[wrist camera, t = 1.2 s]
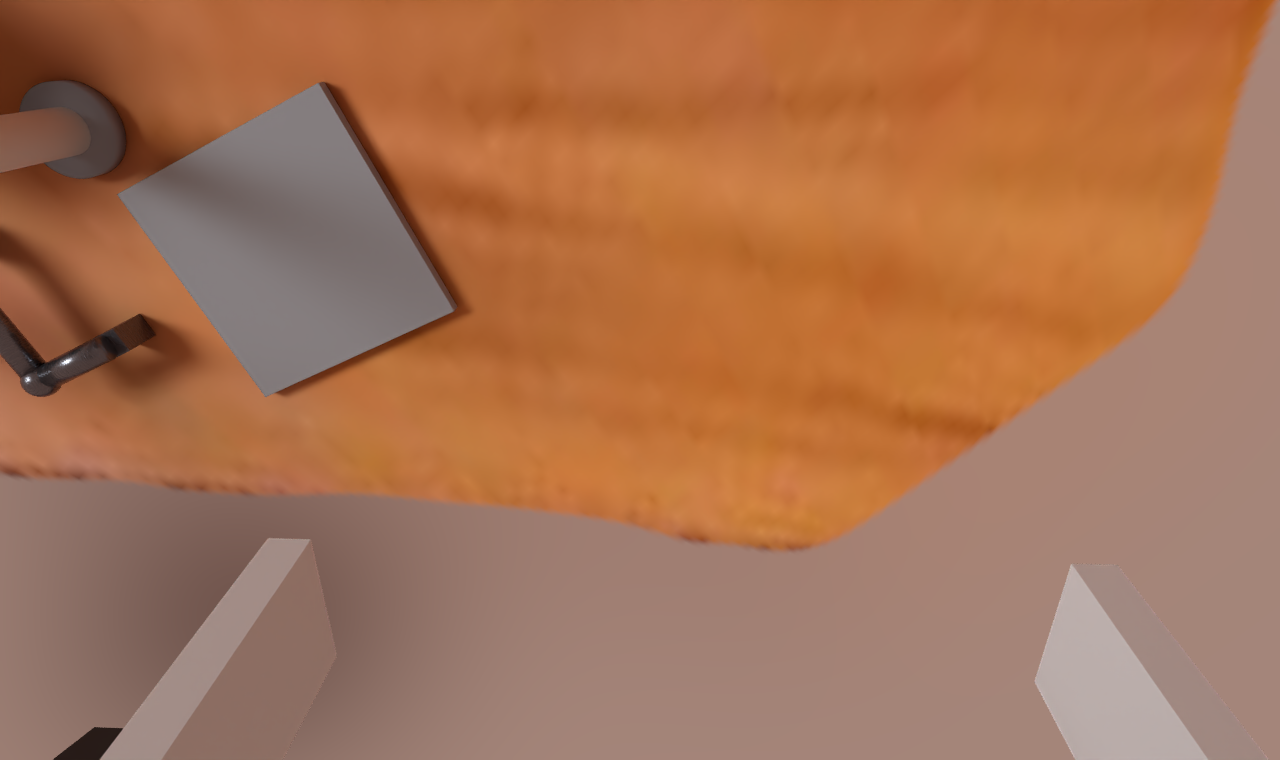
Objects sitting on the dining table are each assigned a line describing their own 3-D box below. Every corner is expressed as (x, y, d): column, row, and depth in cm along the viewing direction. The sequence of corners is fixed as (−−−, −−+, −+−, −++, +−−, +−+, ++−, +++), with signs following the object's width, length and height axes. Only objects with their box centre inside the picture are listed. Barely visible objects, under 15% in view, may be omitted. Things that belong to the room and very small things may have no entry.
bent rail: (-48, 229, 36) (-111, 248, 33) (37, 180, 35) (-21, 195, 32) (76, 379, 39) (28, 407, 36) (158, 338, 38) (115, 364, 35)
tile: (125, 191, 35) (116, 194, 35) (324, 81, 33) (318, 82, 32) (271, 391, 39) (265, 397, 39) (457, 306, 37) (454, 311, 36)
